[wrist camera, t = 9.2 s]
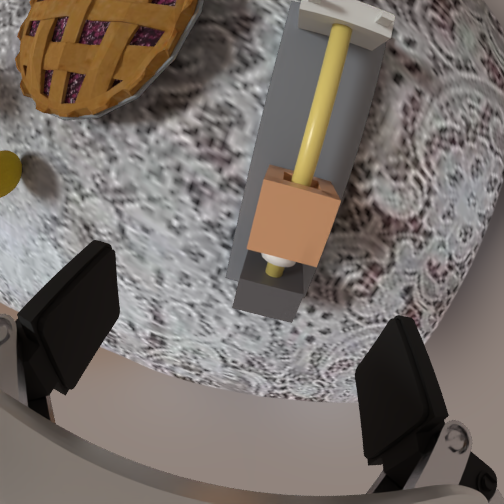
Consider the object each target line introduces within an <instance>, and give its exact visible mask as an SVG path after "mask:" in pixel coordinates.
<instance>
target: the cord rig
mask: <svg viewBox="0 0 504 504" xmlns="http://www.w3.org/2000/svg"><path fill="white" fill-rule="evenodd" d="M394 19H395V15H393V14H391V13H388V12H386V11H384V10H381V9H379V8H376V7H373V6H371V5H368V4H365V3H363V2H360V1H357V0H301V3H299V2H294V1H291V5H290V9H289V12H288V16H287V20H286V23H285V27H284V31H283V35H282V39H281V42H280V46H279V50H278V54H277V58H276V62H275V66H274V70H273V74H272V77H271V81H270V85H269V89H268V93H267V98H266V102H265V106H264V110H263V114H262V118H261V122H260V126H259V130H258V135H257V139H256V143H255V147H254V152H253V156H252V160H251V164H250V169H249V173H248V177H247V182H246V186H245V191H244V195H243V200H242V204H241V208H240V213H239V217H238V222H237V227H236V231H235V236H234V240H233V245H232V250H231V254H230V259H229V264H228V268H227V273H226V278H227V279H231V280H235V281H239V283H238V287H237V291H236V295H235V299H234V303H233V307H232V308H235V309H239V310H242V311H246V312H250V313H254V314H258V315H262V316H266V317H270V318H274V319H279V320H283V321H287V322H291V323H292V322H293V319H294V317H295V315H296V312H297V310H298V307H299V305H300V303H301V300H302V298H305V295H306V293H307V291H308V288H309V286H310V283H311V281H312V278H313V276H314V273H315V271H316V268H317V267H314V266H310V265H306V264H302V263H298V262H294V261H291V260H287V259H283V258H279V257H275V256H272V255H268V254H264V253H260V252H256V251H252V250H249V249H247V245H248V241H249V237H250V233H251V229H252V224H253V220H254V216H255V212H256V208H257V204H258V200H259V196H260V192H261V188H262V184H263V180H264V177H265V175H266V172H267V169H268V167H269V164H270V165H274V166H278V167H281V168H285V169H289V170H293V171H294V173H293V176H292V180H291V182H294V183H298V184H301V185H305V186H308V187H310V186H311V183H312V180H313V176H314V177H317V178H320V179H324V180H327V181H330V182H331V183H332V185H333V186H334V188H335V190H336V192H337V194H338V196H339V198H340V200H341V201H342V198H343V195H344V192H345V189H346V186H347V183H348V180H349V177H350V174H351V171H352V168H353V164H354V161H355V158H356V155H357V152H358V148H359V145H360V142H361V139H362V135H363V132H364V128H365V125H366V121H367V118H368V114H369V111H370V107H371V103H372V100H373V96H374V92H375V88H376V84H377V80H378V76H379V72H380V68H381V64H382V60H383V55H384V51H385V46H386V42H387V40H389V39H390V38H391V34H392V29H393V24H394ZM338 209H339V208H338ZM337 212H338V211H337ZM336 215H337V214H336ZM335 218H336V217H335ZM333 223H334V222H333ZM332 226H333V225H332ZM331 229H332V228H331ZM329 234H330V233H329ZM328 237H329V236H328ZM327 240H328V239H327ZM325 245H326V244H325ZM323 250H324V249H323ZM322 253H323V252H322ZM320 258H321V257H320ZM319 261H320V260H319ZM318 263H319V262H318ZM317 266H318V265H317Z"/></svg>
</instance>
